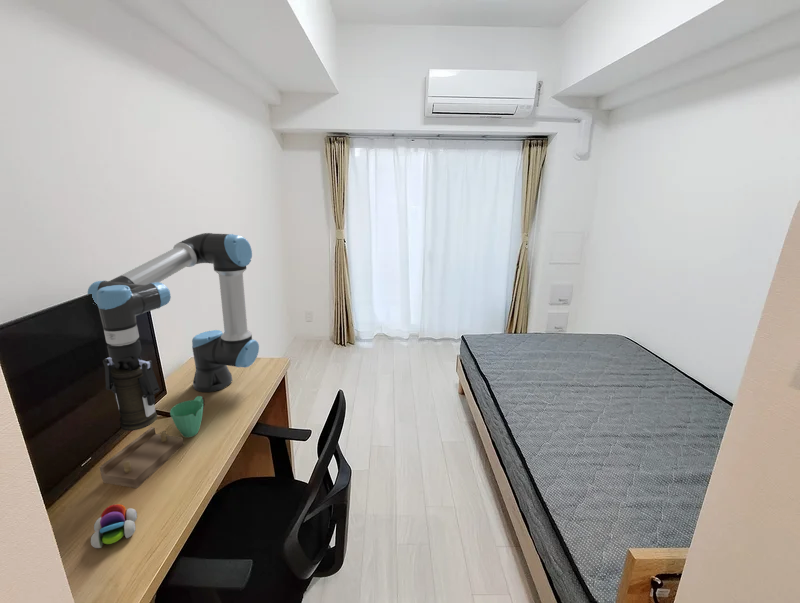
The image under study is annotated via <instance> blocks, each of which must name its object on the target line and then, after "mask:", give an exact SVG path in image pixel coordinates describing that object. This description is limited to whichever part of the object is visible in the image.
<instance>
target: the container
mask: <svg viewBox="0 0 800 603" xmlns="http://www.w3.org/2000/svg"><path fill="white" fill-rule="evenodd" d="M140 367H141V366H140ZM140 367H139V368H137V369H135V370H133V371H128V370H127V369H120V370H117V369H115V368H116V367H114V368H113V369H112V370H111V372H110V374H111V376H112V378H113V380H114V386H115V390H116V395H117V400H118V403H117V405H118V404H119V408H118V411H119V412H120V413H119V412H118V413H119V416H120V417H119V425H120V428H121V429H122V430H124V431H127V432H130V431H138V430H139V431H140V430H142V429H145V428H147V427H149V426H150V425H153V424H154V423H155V422H156V421H157V419H158V414H157V412H156V411H157V410H156V409H155V412H154V413H153V414H152V415H150V416H149V417H146V414H145V409H144V403H143V398H142V397H143V396H144V393H143V392H142V390H141V388H140V386H139V385H140V384H139V382H138V378H140V377H142V376H143V373H142V369H140ZM148 391H149V390H148Z"/></svg>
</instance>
